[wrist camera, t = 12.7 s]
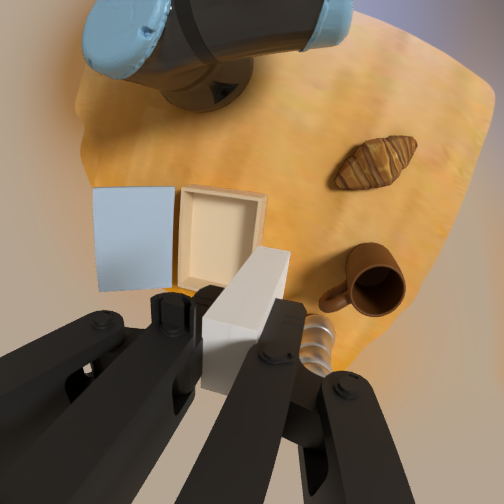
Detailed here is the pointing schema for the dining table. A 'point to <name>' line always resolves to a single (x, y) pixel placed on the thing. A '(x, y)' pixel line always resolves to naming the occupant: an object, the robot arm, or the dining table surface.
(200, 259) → the base
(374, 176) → the croissant
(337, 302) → the mug
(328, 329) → the plastic bottle
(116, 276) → the lid
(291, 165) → the dining table surface
